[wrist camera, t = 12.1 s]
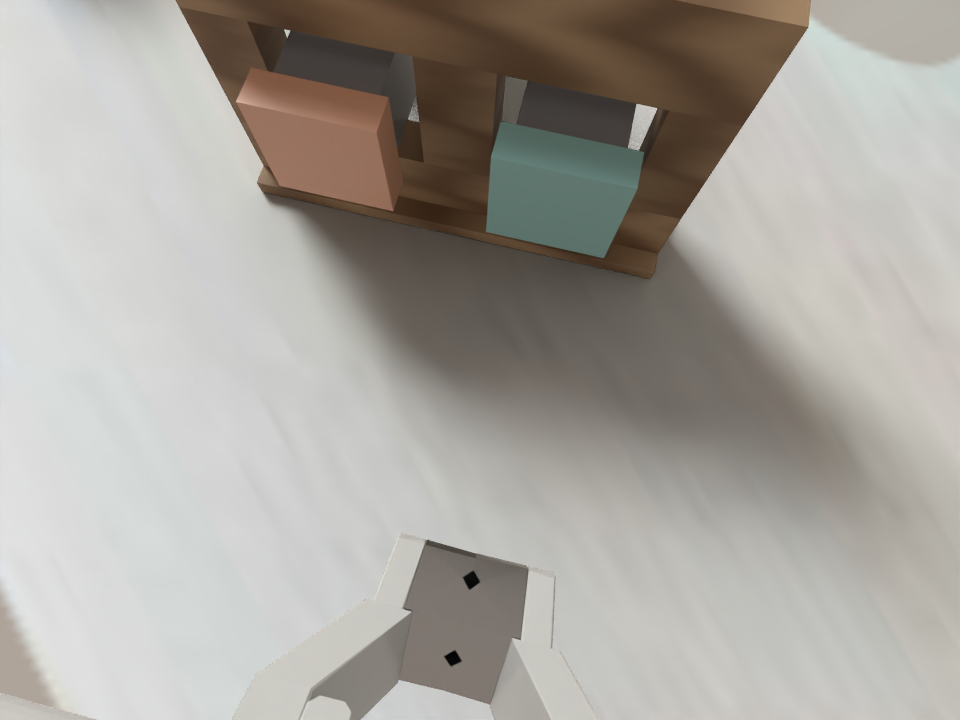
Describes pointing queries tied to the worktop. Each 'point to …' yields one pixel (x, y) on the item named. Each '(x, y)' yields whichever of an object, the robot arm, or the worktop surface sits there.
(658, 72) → the walnut panel
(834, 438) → the worktop surface
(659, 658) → the worktop surface
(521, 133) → the teal button
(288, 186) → the terracotta button
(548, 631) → the robot arm
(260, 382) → the worktop surface
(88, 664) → the worktop surface
